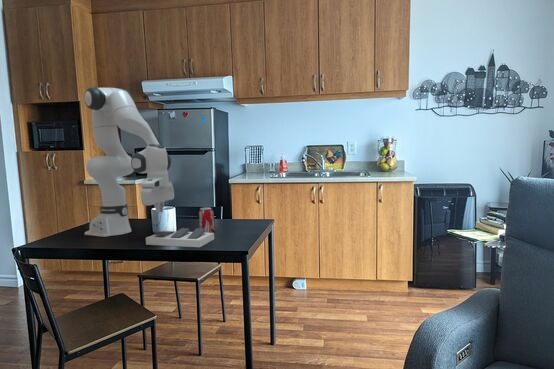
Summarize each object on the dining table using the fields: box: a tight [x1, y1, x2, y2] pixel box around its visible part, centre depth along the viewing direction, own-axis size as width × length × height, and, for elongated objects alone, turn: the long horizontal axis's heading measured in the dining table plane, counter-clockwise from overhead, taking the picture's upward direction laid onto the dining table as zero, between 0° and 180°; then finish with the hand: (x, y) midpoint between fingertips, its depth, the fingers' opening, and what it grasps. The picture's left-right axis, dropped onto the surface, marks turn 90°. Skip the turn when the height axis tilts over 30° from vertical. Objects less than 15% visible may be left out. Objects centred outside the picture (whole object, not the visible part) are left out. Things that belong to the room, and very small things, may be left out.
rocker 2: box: [187, 227, 205, 239], centre depth 165 cm, size 4×9×2 cm, turn 164°
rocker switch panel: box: [145, 230, 215, 248], centre depth 168 cm, size 26×14×3 cm, turn 74°
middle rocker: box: [171, 227, 190, 238], centre depth 168 cm, size 4×9×2 cm, turn 164°
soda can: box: [198, 206, 215, 233], centre depth 186 cm, size 7×7×12 cm
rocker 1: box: [154, 230, 174, 235], centre depth 170 cm, size 4×9×2 cm, turn 164°
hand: (159, 212), depth 166 cm, fingers closed
